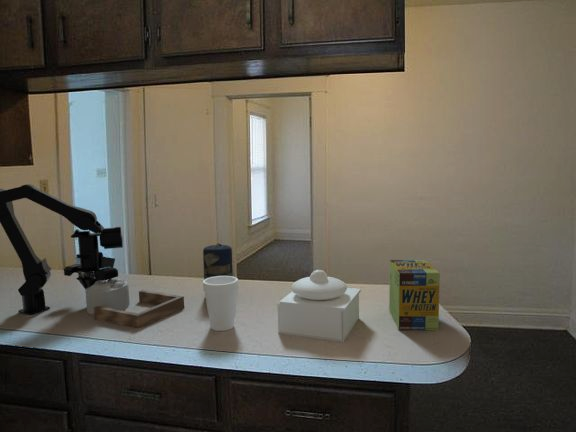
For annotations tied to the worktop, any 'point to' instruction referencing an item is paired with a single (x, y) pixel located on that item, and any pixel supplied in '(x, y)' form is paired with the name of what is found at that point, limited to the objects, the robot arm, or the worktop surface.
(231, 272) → the canister
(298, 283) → the white lidded box
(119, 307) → the lumpy-topped squat cylinder
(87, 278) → the robot arm
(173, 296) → the bay
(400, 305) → the protein box
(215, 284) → the foam cup
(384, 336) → the worktop surface
